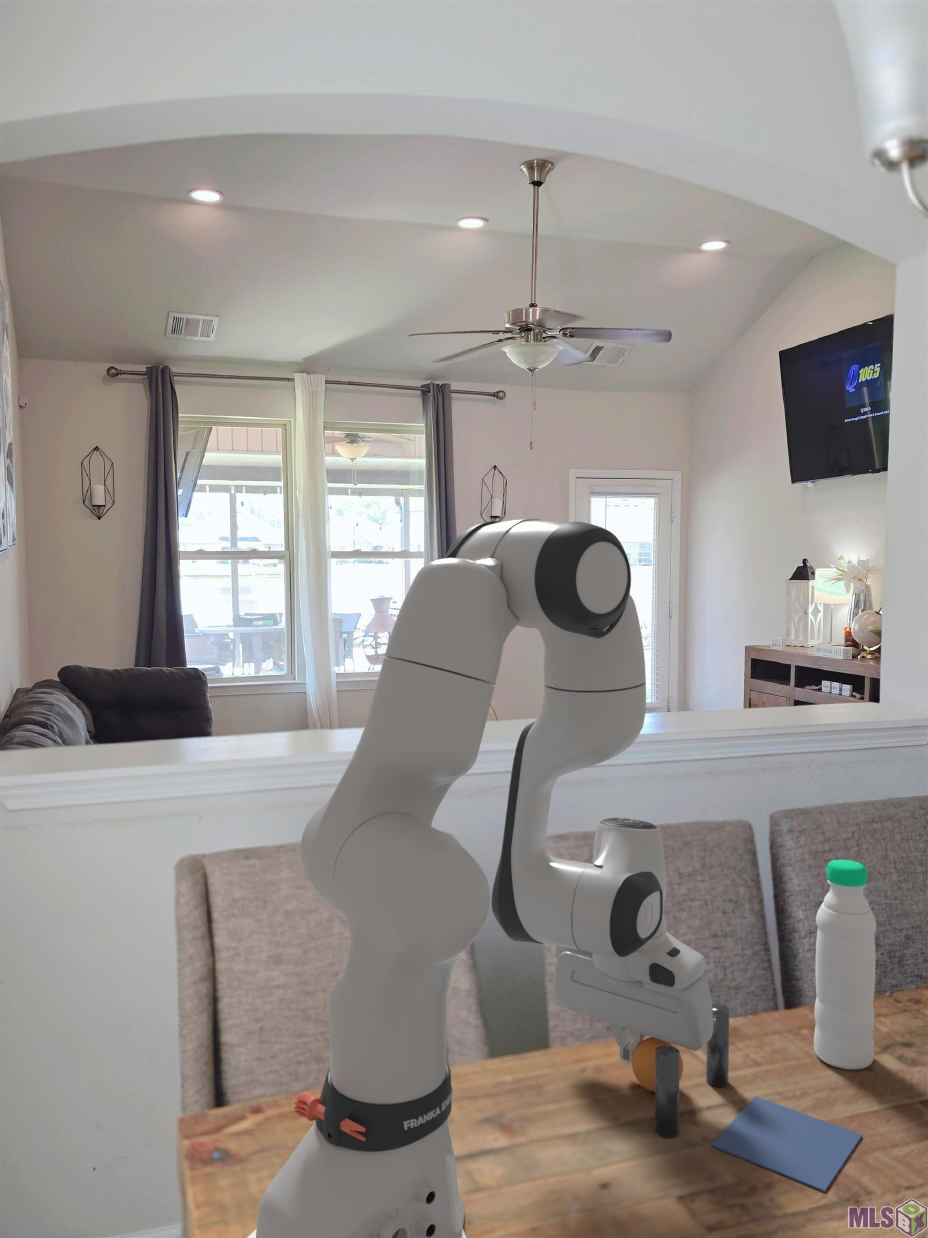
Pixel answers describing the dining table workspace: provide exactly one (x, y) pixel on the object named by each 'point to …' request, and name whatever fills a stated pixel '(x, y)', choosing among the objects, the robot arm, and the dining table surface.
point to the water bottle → (845, 970)
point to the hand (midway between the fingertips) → (629, 1059)
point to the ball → (649, 1062)
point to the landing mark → (788, 1143)
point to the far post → (718, 1048)
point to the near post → (667, 1091)
